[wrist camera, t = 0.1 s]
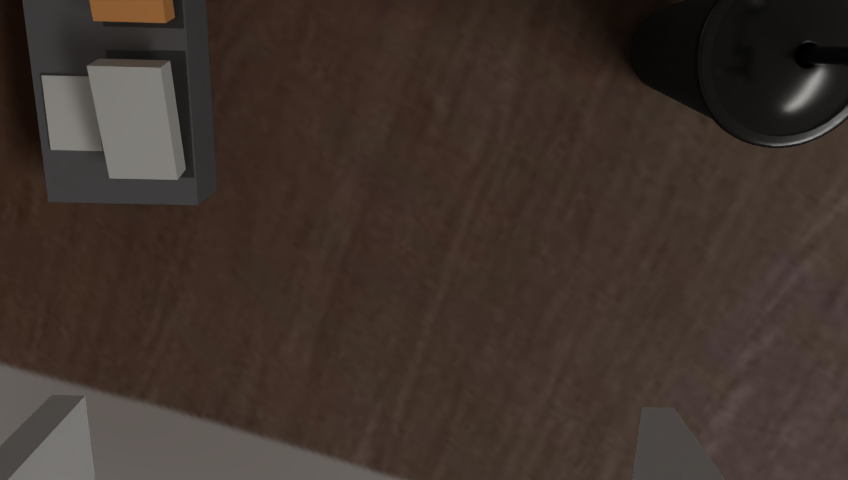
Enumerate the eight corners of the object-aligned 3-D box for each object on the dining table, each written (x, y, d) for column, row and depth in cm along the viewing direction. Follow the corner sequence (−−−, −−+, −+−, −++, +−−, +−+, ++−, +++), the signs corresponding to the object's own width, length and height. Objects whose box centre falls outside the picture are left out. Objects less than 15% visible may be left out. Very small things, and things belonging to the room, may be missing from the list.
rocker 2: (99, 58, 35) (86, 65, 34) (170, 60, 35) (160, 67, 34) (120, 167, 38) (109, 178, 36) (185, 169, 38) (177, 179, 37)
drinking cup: (587, 16, 40) (748, -6, 21) (711, -41, 40) (995, -118, 20) (630, 135, 42) (813, 213, 23) (749, 82, 42) (1040, 119, 22)
